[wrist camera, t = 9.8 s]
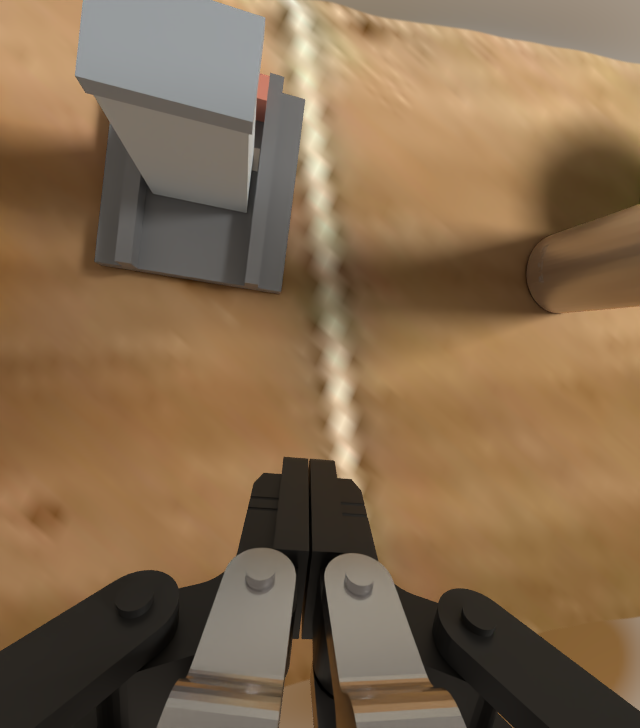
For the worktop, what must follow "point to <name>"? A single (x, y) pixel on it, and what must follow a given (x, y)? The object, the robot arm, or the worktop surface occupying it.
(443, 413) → the worktop surface
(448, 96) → the worktop surface
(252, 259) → the track
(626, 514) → the worktop surface
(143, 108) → the grey tall block
